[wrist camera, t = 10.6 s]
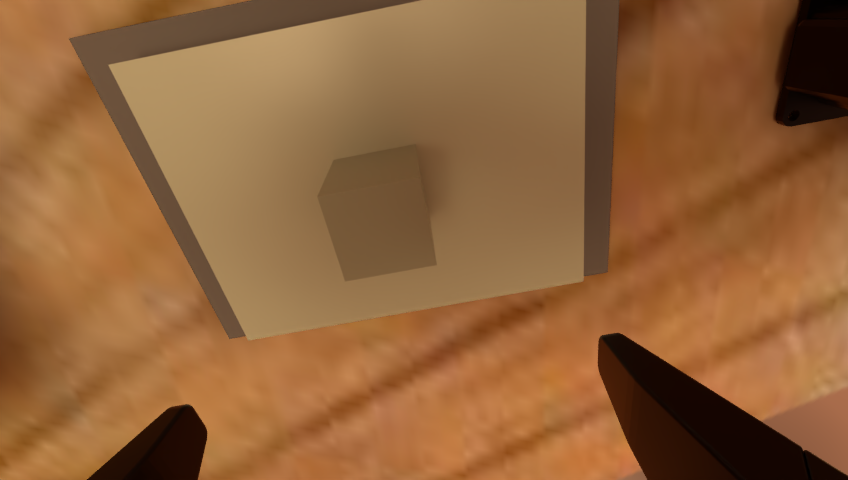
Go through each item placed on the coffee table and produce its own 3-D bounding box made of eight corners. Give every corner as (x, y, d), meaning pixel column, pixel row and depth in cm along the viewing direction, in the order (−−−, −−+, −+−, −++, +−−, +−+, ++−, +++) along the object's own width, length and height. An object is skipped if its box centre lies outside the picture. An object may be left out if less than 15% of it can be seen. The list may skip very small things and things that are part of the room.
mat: (619, -76, 16) (622, -78, 16) (605, 269, 24) (607, 272, 23) (74, 38, 17) (68, 38, 17) (231, 335, 24) (229, 338, 24)
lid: (566, -29, 16) (645, -49, 11) (569, 260, 23) (620, 334, 18) (138, 59, 17) (21, 80, 12) (259, 316, 24) (219, 403, 18)
